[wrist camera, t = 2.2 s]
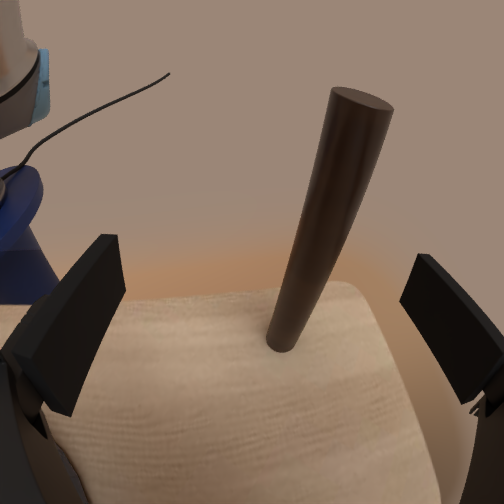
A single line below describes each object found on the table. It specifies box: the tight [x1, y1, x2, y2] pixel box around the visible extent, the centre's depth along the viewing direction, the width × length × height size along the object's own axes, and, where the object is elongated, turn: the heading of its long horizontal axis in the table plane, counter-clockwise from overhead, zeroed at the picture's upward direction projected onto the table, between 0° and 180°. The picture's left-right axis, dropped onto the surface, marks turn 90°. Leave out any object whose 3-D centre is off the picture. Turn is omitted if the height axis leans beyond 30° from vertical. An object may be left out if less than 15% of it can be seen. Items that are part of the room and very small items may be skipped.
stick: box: [266, 87, 394, 352], centre depth 16 cm, size 3×3×20 cm
